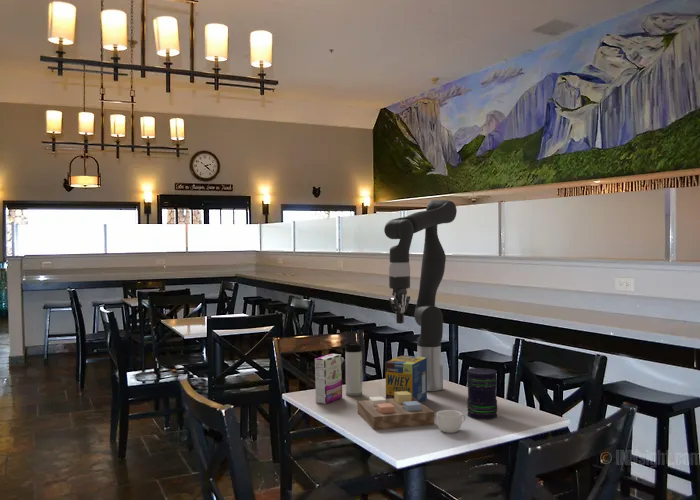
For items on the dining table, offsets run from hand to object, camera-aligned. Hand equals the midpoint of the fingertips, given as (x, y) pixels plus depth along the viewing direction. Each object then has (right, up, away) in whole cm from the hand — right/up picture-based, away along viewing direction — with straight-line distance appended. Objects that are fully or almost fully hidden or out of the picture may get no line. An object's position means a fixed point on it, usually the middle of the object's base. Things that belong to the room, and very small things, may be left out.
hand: (400, 323), depth 217 cm
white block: (-9, -27, -15) cm, 32 cm away
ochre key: (0, -26, -13) cm, 29 cm away
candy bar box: (-26, -30, +6) cm, 40 cm away
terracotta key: (-7, -27, -24) cm, 37 cm away
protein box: (+3, -29, +3) cm, 30 cm away
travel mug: (-17, -29, +14) cm, 37 cm away
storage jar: (+26, -29, -16) cm, 42 cm away
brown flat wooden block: (-3, -29, -18) cm, 35 cm away
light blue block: (+2, -27, -22) cm, 35 cm away
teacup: (+13, -29, -32) cm, 45 cm away
